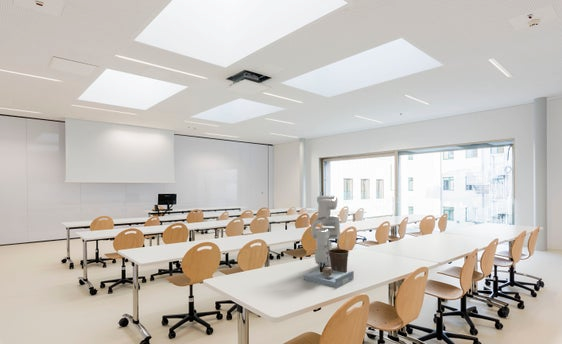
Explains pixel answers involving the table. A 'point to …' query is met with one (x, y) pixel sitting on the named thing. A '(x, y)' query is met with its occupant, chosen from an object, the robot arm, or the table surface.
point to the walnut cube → (326, 271)
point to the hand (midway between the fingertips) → (322, 271)
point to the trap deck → (329, 277)
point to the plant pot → (338, 259)
